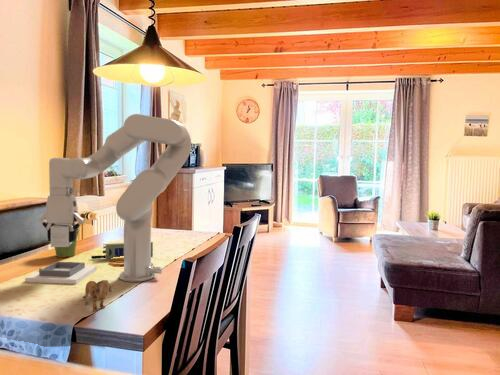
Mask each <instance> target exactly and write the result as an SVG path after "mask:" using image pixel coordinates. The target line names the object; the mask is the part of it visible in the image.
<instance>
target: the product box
mask: <svg viewBox="0 0 500 375" xmlns="http://www.w3.org/2000/svg"><path fill="white" fill-rule="evenodd" d="M69 231H71V230H70V228H69V226H68V224H54V225H53V226H52V227H51V241H50V247H51V248H55V247H69V246H70V245H71V243H72V242H69Z"/></svg>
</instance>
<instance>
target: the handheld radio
mask: <svg viewBox="0 0 500 375" xmlns="http://www.w3.org/2000/svg"><path fill="white" fill-rule="evenodd" d="M153 243H154V242H153V241H151V258H153V255H154V252H153V251H154V244H153ZM102 248H103V249H105V250H103V251H102V254H104V255H91V260H95V259H98V260H99V259H105V260H108V261H109V260H112V259H111V258H113V257H120V256H124V242H122V243H120V242H119V243H117V242H116V243H104V244H103V247H102Z"/></svg>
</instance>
